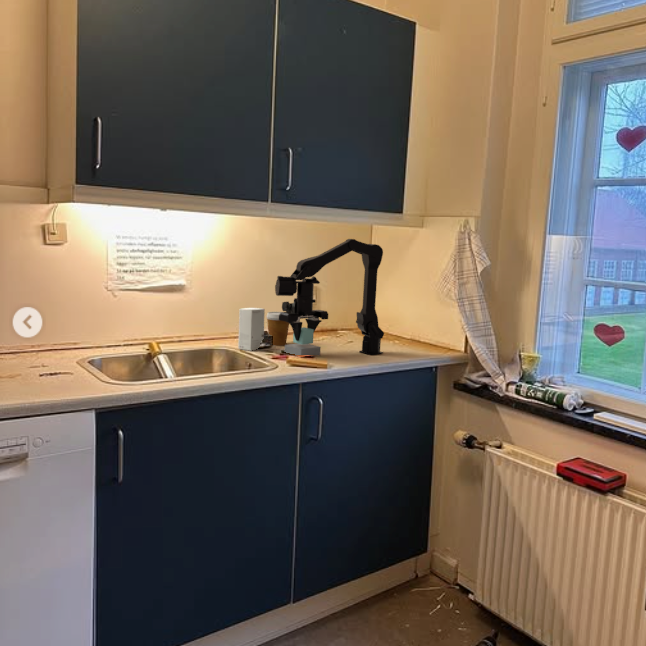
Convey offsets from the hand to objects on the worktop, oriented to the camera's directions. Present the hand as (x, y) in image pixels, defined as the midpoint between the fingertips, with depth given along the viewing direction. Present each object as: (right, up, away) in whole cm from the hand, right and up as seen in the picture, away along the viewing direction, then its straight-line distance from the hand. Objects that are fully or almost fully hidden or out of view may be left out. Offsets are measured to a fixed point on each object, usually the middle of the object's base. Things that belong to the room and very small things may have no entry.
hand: (303, 339), depth 222 cm
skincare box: (-19, -4, +6) cm, 20 cm away
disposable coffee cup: (-10, -2, +17) cm, 20 cm away
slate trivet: (0, -5, +1) cm, 5 cm away
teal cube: (0, -1, 0) cm, 1 cm away
